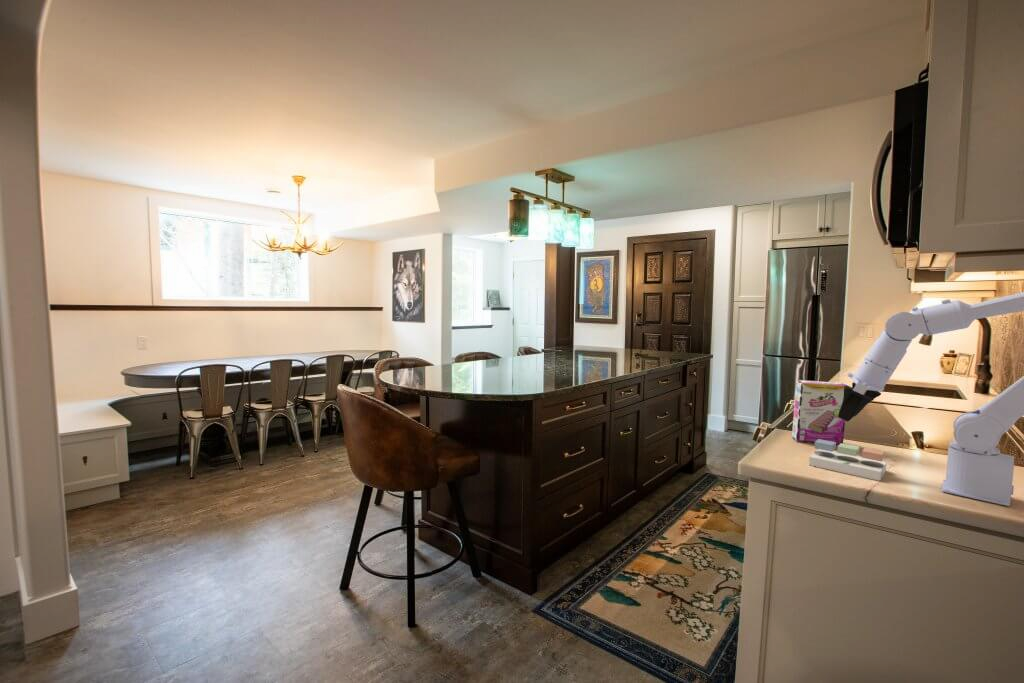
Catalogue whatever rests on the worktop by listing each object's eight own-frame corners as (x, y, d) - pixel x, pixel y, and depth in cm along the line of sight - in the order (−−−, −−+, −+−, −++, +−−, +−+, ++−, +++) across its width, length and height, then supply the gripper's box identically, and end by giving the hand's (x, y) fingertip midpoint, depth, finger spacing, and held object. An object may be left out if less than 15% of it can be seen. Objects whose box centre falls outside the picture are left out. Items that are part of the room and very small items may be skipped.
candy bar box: (796, 442, 127) (800, 382, 125) (791, 437, 131) (795, 379, 130) (844, 446, 124) (849, 385, 122) (837, 441, 128) (841, 382, 127)
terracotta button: (884, 457, 104) (884, 451, 103) (881, 461, 101) (882, 454, 101) (864, 454, 106) (865, 447, 106) (861, 457, 104) (862, 450, 103)
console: (886, 470, 106) (886, 461, 105) (879, 480, 99) (880, 470, 99) (818, 456, 115) (819, 447, 115) (809, 465, 108) (809, 455, 108)
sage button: (859, 453, 107) (859, 446, 107) (856, 456, 104) (856, 449, 104) (840, 449, 109) (841, 443, 109) (837, 452, 107) (837, 446, 107)
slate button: (835, 448, 110) (835, 442, 110) (832, 451, 107) (832, 445, 107) (818, 445, 112) (818, 439, 112) (814, 448, 110) (814, 441, 110)
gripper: (865, 353, 110) (834, 403, 114) (853, 357, 100) (820, 411, 104) (900, 368, 105) (867, 419, 110) (891, 373, 95) (855, 429, 100)
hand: (846, 416), depth 107 cm, fingers open, 7 cm apart
